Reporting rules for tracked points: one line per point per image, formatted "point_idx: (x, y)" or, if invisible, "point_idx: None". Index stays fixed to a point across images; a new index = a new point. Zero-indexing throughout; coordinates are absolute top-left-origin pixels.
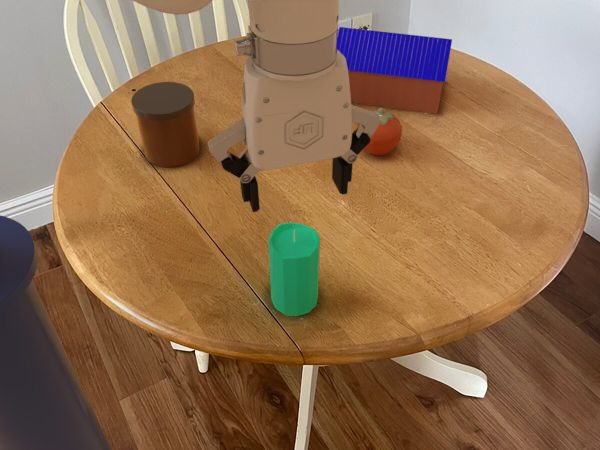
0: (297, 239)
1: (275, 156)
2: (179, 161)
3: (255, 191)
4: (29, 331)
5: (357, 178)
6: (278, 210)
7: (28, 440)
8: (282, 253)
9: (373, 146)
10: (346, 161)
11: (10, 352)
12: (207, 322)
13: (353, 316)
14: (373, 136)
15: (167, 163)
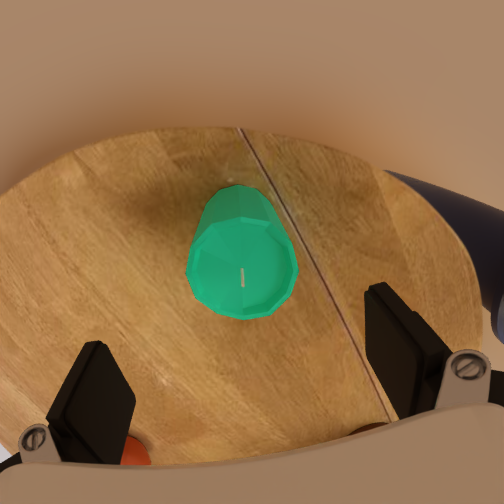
0: (234, 276)
1: (435, 500)
2: (365, 430)
3: (411, 330)
4: (476, 245)
5: (148, 412)
6: (253, 375)
7: (436, 189)
8: (270, 237)
9: (128, 446)
10: (59, 434)
11: (485, 226)
12: (366, 185)
13: (152, 181)
14: (127, 458)
15: (378, 426)
